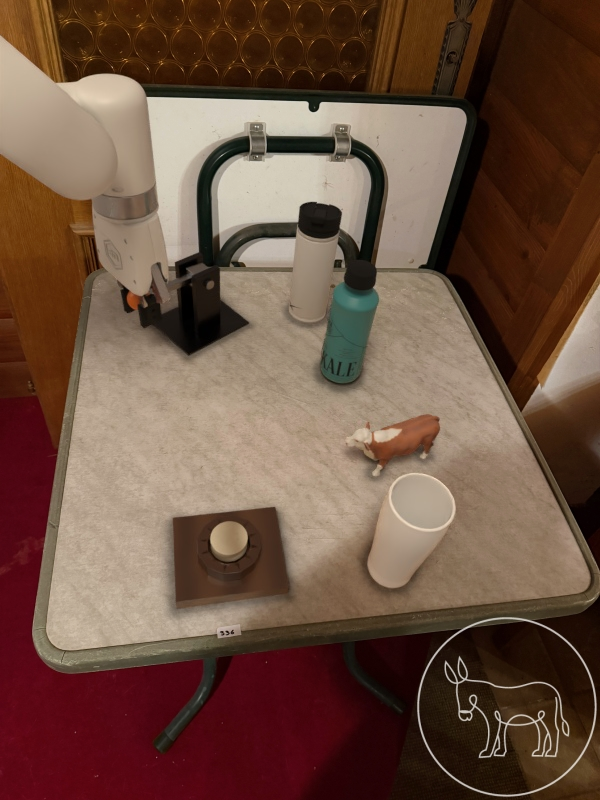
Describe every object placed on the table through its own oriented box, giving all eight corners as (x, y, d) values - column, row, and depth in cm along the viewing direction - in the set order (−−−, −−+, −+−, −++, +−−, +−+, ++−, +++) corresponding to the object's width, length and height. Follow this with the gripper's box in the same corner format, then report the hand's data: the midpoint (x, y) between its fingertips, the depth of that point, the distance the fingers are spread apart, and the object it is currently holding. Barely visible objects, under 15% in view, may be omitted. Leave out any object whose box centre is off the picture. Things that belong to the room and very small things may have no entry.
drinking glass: (350, 552, 66) (375, 482, 55) (399, 534, 68) (433, 463, 57) (377, 605, 62) (410, 541, 51) (428, 584, 64) (470, 518, 53)
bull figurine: (335, 461, 75) (344, 422, 69) (421, 438, 79) (437, 399, 73) (348, 487, 72) (359, 450, 66) (437, 462, 76) (455, 424, 70)
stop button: (212, 564, 60) (211, 557, 58) (209, 530, 62) (208, 523, 61) (249, 559, 60) (249, 552, 59) (245, 526, 63) (245, 519, 62)
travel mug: (284, 325, 92) (295, 214, 77) (291, 300, 96) (303, 192, 82) (321, 332, 92) (340, 222, 77) (327, 307, 96) (345, 199, 81)
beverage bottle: (350, 358, 88) (375, 249, 74) (366, 388, 84) (396, 279, 69) (311, 364, 87) (329, 253, 72) (325, 395, 83) (347, 285, 68)
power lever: (136, 318, 76) (134, 299, 74) (123, 306, 78) (121, 287, 76) (212, 286, 84) (212, 268, 81) (198, 276, 85) (198, 257, 83)
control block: (177, 610, 60) (174, 595, 57) (173, 526, 66) (171, 509, 63) (287, 595, 62) (290, 579, 59) (274, 515, 68) (276, 498, 65)
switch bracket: (188, 360, 85) (184, 298, 76) (150, 325, 89) (141, 262, 80) (248, 327, 91) (251, 266, 82) (210, 297, 95) (208, 235, 86)
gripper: (59, 175, 67) (88, 297, 81) (137, 238, 60) (154, 359, 74) (114, 159, 71) (133, 278, 85) (193, 216, 64) (200, 335, 78)
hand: (143, 315), depth 79 cm, fingers closed on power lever, 3 cm apart
